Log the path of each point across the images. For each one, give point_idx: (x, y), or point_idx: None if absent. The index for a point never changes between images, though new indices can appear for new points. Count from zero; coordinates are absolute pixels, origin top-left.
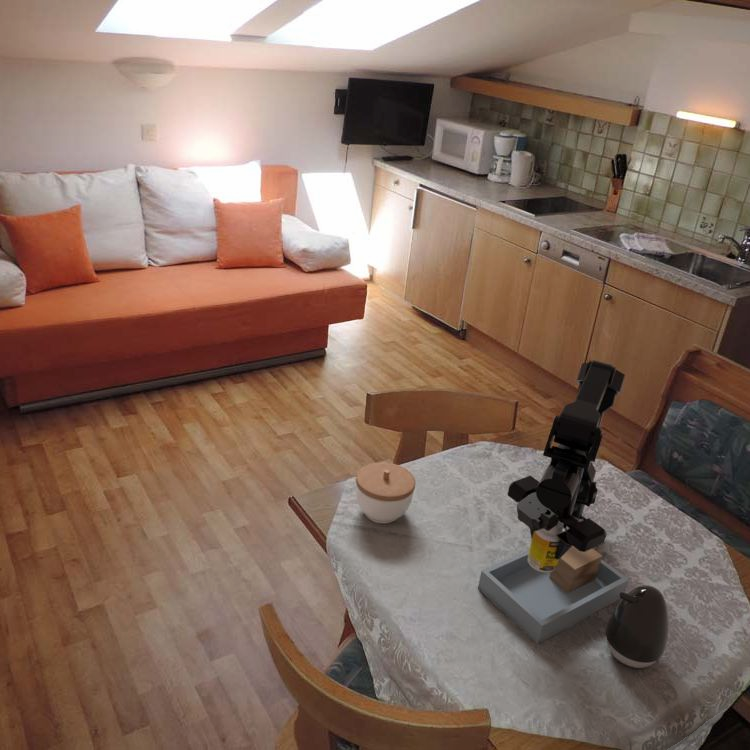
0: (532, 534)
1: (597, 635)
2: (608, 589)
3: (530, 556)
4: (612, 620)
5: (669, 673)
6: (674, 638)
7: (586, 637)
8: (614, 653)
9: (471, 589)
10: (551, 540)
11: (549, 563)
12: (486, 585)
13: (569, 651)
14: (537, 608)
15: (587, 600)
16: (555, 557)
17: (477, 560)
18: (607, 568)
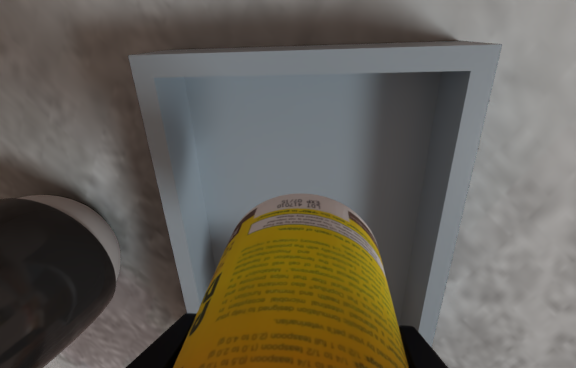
0: (423, 365)
1: (147, 217)
2: None
3: (330, 224)
4: (17, 256)
5: None
6: (96, 328)
7: (149, 191)
8: (39, 196)
9: (472, 14)
10: None
11: (218, 266)
12: (435, 43)
13: (121, 117)
14: (270, 147)
15: (180, 267)
16: (191, 319)
17: (551, 139)
18: None
